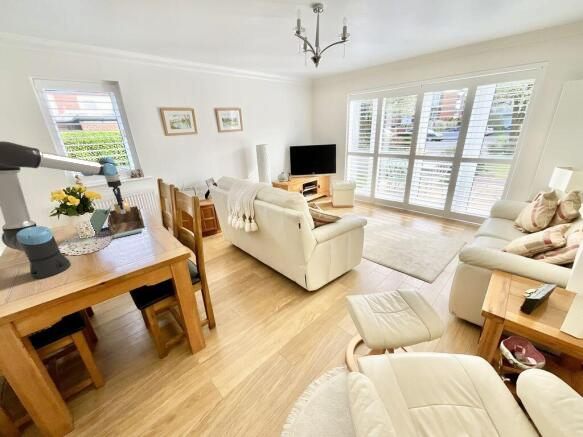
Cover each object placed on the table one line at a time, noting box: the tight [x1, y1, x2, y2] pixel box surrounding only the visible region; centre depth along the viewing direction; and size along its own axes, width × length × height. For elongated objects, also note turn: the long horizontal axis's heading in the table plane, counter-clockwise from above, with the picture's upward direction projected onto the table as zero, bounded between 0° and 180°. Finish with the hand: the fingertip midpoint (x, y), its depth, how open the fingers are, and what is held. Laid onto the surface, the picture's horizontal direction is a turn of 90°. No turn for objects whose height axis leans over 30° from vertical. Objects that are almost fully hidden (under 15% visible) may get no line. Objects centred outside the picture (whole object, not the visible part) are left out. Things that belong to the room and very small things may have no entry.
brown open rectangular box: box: [107, 205, 146, 236], centre depth 172 cm, size 20×22×12 cm
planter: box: [89, 205, 113, 233], centre depth 171 cm, size 16×8×20 cm
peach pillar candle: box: [113, 201, 131, 214], centre depth 169 cm, size 8×7×7 cm
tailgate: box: [113, 228, 143, 239], centre depth 162 cm, size 16×1×8 cm
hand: (123, 211), depth 170 cm, fingers closed on peach pillar candle, 7 cm apart
